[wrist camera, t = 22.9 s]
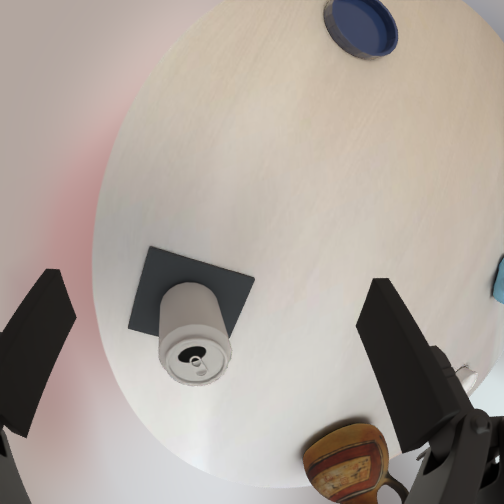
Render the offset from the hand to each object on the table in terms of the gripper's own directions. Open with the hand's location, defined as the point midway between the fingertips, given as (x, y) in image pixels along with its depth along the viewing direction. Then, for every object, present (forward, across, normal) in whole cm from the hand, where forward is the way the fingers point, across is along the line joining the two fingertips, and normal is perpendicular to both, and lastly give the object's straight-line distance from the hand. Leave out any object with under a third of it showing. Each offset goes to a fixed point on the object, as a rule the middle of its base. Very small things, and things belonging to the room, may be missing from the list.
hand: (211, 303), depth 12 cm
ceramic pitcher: (+17, +26, -61) cm, 68 cm away
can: (+20, -4, -18) cm, 27 cm away
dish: (+33, +17, +20) cm, 42 cm away
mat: (+21, -4, -18) cm, 28 cm away
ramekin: (+26, +68, -57) cm, 93 cm away
